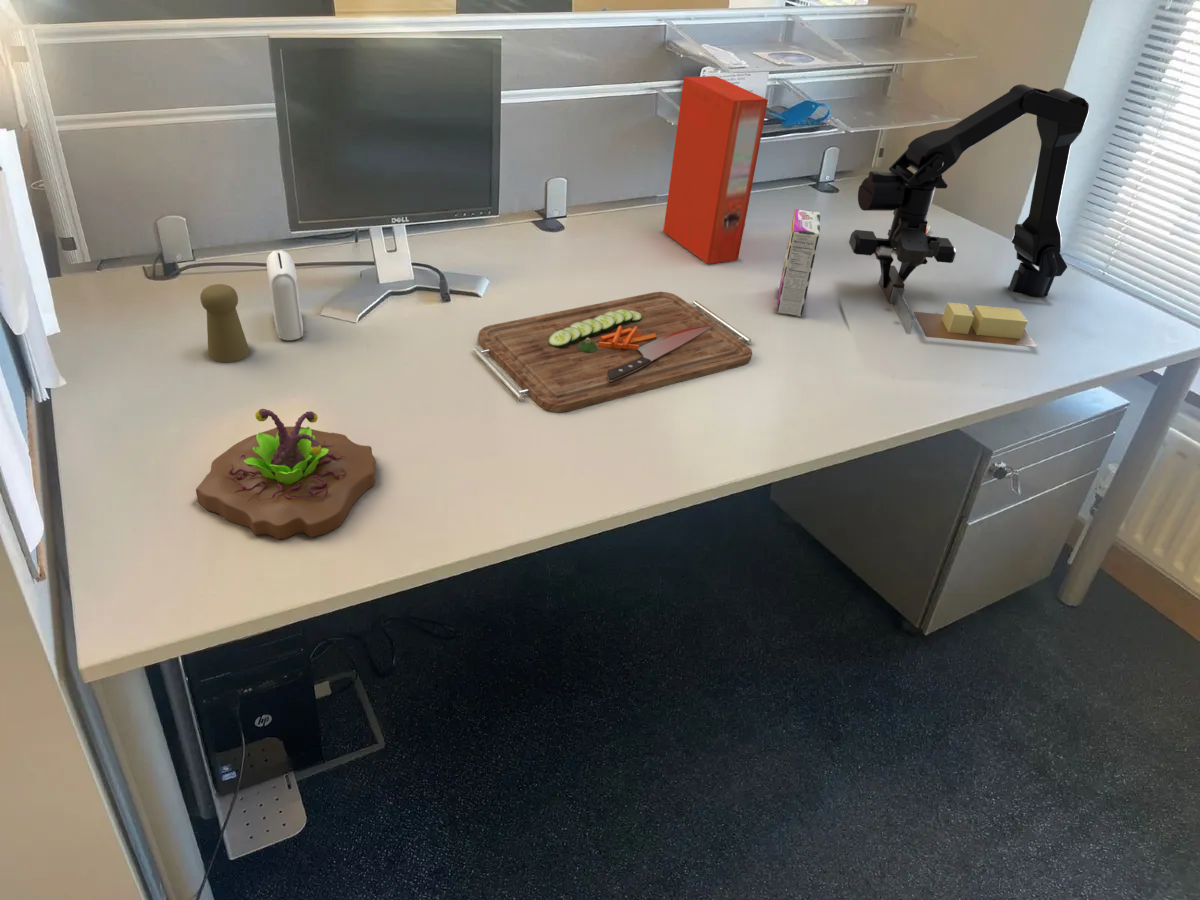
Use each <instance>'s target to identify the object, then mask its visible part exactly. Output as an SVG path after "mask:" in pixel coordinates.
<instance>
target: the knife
mask: <svg viewBox="0 0 1200 900" xmlns="http://www.w3.org/2000/svg"><path fill="white" fill-rule="evenodd" d="M878 284H879V287H880V289H881V291H882V293H883V295H884V297H885V299H886V302H887V303H888V304H889V305H891V306H893V308H894V310H895V312H896V314H897V316H898V318H899V320H900V322H901V324H902V326H903V328H904V331H905V332H906V335H911V334H912V329H913V327H914V324H915V318H914V315H913V314H912V312H911V309H910V308H909V306H908V304H907V302H906V300H905V298H904V293H905V287H906V285H905V281H904V282H903V281H902V279H901V277H900V275H899V270H898V269H897V268H896V266H895V265H893V264H891V266H890V272H889V277H888V282H887V285H886V288H883V286H882V277H881V275H880V276H879V279H878Z"/></svg>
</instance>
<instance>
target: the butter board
mask: <svg viewBox="0 0 1200 900" xmlns="http://www.w3.org/2000/svg"><path fill="white" fill-rule="evenodd" d="M943 314H944V313H932V312H923V311H922V312H921V311H913V315H914V316H915V318H916V320H917V322H918V324H919V326H920V328H921V330H922V332H923V334H924V336H925V338H934V339H945V340H955V341H956V340H957V341H968V342H978V343H989V344H998V345H999V344H1000V345H1011V346H1020V347H1031V348H1038V346H1037V344H1036V343H1035V341H1034V340H1033V339H1032V337H1031V336H1030V334H1029V333H1028V332H1027V330H1026V328H1025V329H1024V331H1023V334H1022V337H1021V339H1015V338H1004V337H994V336H983V335H977V334H976V333H975V331H974V329H973V328H972V326H970V329H969V332H968V334H961V333H951V332H948V330H947V328H946V327H945V325H944V323H943V321H942V317H943Z"/></svg>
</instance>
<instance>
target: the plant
mask: <svg viewBox="0 0 1200 900" xmlns="http://www.w3.org/2000/svg"><path fill="white" fill-rule="evenodd" d="M254 416H255V420H257V421H258V422H265V421H266V420H268V418H269V417H271V420H272V421H273V422H274V424H275V425H276V427H274V428H271V429H267V430H265V431H261V432H258V433H256V434H253V435H250V436H248V437H246V438H244V439H242V440H241V441H238V442H237V443H235V444H233V445H232V446H231V447H230V448H228V449H226V451H224V452H223V453H221V454H220V455H219V456H217V457H216V458H215V459H214V460H212V462H211V466H210V471H209V472H208V474H207V475H206V476H205V477H204V478H203V480H202V481H201V482H200V483H199V484H198V485H197V487H196V488H195V493H196V499H197V504H198V503H199V504H200V505H201V506H202V507H203V508H204V509H205V510H207V511H209V512H213V513H216V514H218V515H220V516H222V517H223V518H224V519H226V520H227V521H229V522H231V523H234V524H237V525H240V526H243V527H247V528H249V529H250V530H252V532H253V534H254V535H255V536H259V535H268V536H271V537H273V538H275V539H277V540H284V539H287V538H290V537H292V536H295V535H297V534H305V535H307V536H309V537H311V538H314V537H318V536H321V535H324V534H327V533H330V532H331V531H334V530H335V529H337V528H338V527H340V526H341V524H343V522H344V521H345V520H346V518H347V516H348V515H349V513H350V511H351V508H352V507H353V506H354V505H355V503H356V502H357V500H359V499H360V497H361V496H363V494H364V493H365V492H366V491H367V490H370V488H372V487H374V486H375V484H376V476H377V464H376V463H377V462H376V458H375V456H374V454H373V448H372V447H371V446H370V445H361V444H358V443H355V442H353V441H352V440H350V438H349V437H348V436H347V435H346V434H342V433H337V432H328V431H323V430H317V429H313V428H311V427H310V426H304V427H303V426H302V424H303V422H304V421H305V420H306V421H308V422H309V423H317V421H318V417H319V416H318V414H317V413H316V412H315V411H311V410H309V411H305V413H303V414H302V415H300V417H298V418H297V421H296V422H295V425H294V426H285V424H284V422H282V421H281V419H280V418H279V417H278V414H276V413H274V411H272V410H270V409H267V408H261V409H258V410H257V411H256V412H255V415H254Z"/></svg>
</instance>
